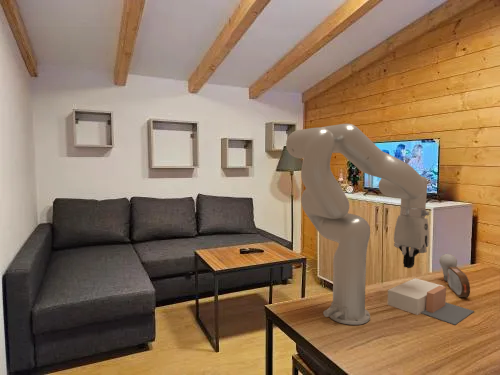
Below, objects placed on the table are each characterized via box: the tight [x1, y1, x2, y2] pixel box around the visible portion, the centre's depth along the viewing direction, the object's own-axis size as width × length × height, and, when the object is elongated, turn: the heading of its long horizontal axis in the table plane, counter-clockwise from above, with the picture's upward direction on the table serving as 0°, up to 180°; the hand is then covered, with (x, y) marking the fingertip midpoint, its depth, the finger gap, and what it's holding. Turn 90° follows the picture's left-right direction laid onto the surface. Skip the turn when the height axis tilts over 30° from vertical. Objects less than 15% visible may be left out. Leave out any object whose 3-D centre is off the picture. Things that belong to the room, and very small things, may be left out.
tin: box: [446, 266, 471, 299], centre depth 125 cm, size 15×3×8 cm, turn 168°
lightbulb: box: [438, 253, 458, 283], centre depth 136 cm, size 6×6×11 cm
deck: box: [387, 277, 445, 316], centre depth 117 cm, size 18×10×5 cm, turn 128°
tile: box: [426, 285, 447, 313], centre depth 112 cm, size 9×6×2 cm
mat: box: [420, 301, 475, 326], centre depth 109 cm, size 14×10×1 cm
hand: (408, 267), depth 117 cm, fingers closed
